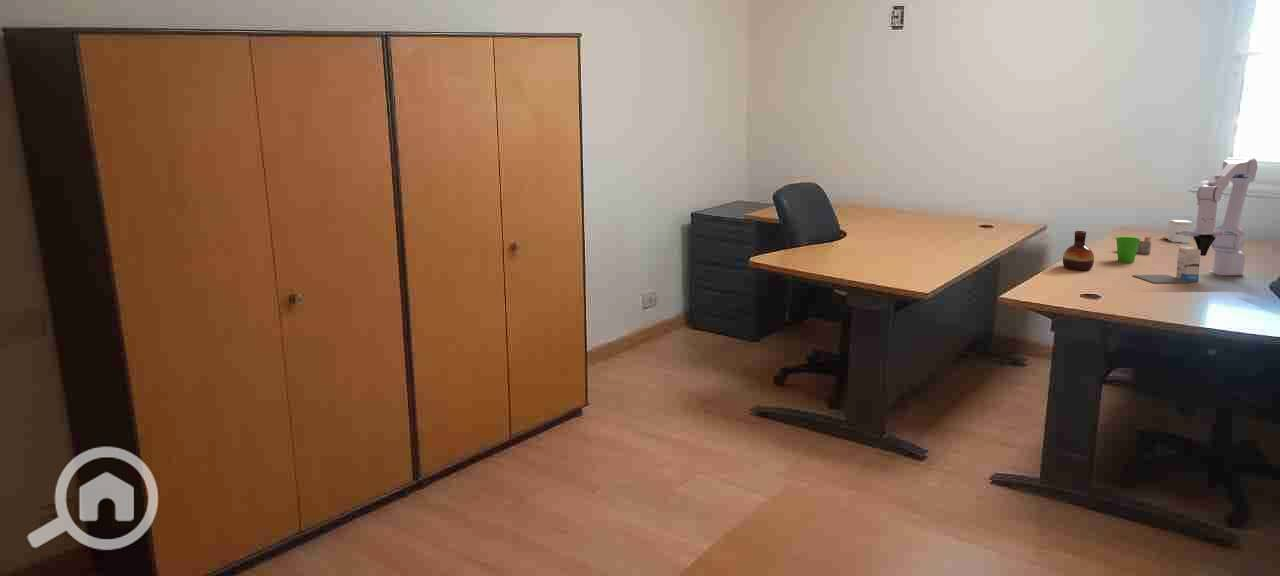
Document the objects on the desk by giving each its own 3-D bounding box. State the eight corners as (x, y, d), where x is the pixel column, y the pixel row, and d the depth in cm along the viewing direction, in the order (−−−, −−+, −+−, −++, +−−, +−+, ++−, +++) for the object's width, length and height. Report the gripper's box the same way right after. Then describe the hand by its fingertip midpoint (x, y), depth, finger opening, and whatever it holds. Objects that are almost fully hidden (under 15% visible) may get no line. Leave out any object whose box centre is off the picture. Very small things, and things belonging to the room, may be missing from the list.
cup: (1114, 266, 365) (1116, 239, 363) (1112, 262, 373) (1114, 236, 371) (1139, 267, 362) (1142, 240, 360) (1136, 263, 370) (1139, 237, 368)
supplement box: (1172, 249, 405) (1175, 221, 403) (1165, 247, 413) (1168, 219, 410) (1190, 250, 404) (1193, 221, 402) (1183, 247, 411) (1186, 219, 409)
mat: (1167, 275, 343) (1167, 274, 343) (1190, 283, 329) (1190, 282, 329) (1132, 276, 344) (1132, 275, 344) (1154, 283, 329) (1154, 282, 329)
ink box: (1198, 281, 331) (1202, 249, 329) (1183, 281, 332) (1187, 249, 330) (1189, 277, 340) (1193, 246, 337) (1175, 277, 341) (1178, 246, 338)
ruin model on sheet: (1149, 259, 383) (1151, 236, 381) (1149, 260, 381) (1151, 237, 379) (1119, 257, 389) (1121, 234, 387) (1118, 258, 387) (1120, 235, 385)
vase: (1096, 270, 356) (1100, 231, 353) (1087, 274, 348) (1091, 234, 345) (1067, 267, 364) (1070, 229, 361) (1057, 271, 356) (1060, 231, 353)
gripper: (1216, 216, 336) (1212, 253, 339) (1180, 217, 335) (1176, 254, 337) (1231, 219, 329) (1226, 256, 332) (1193, 219, 328) (1189, 257, 331)
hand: (1202, 255), depth 334 cm, fingers closed
